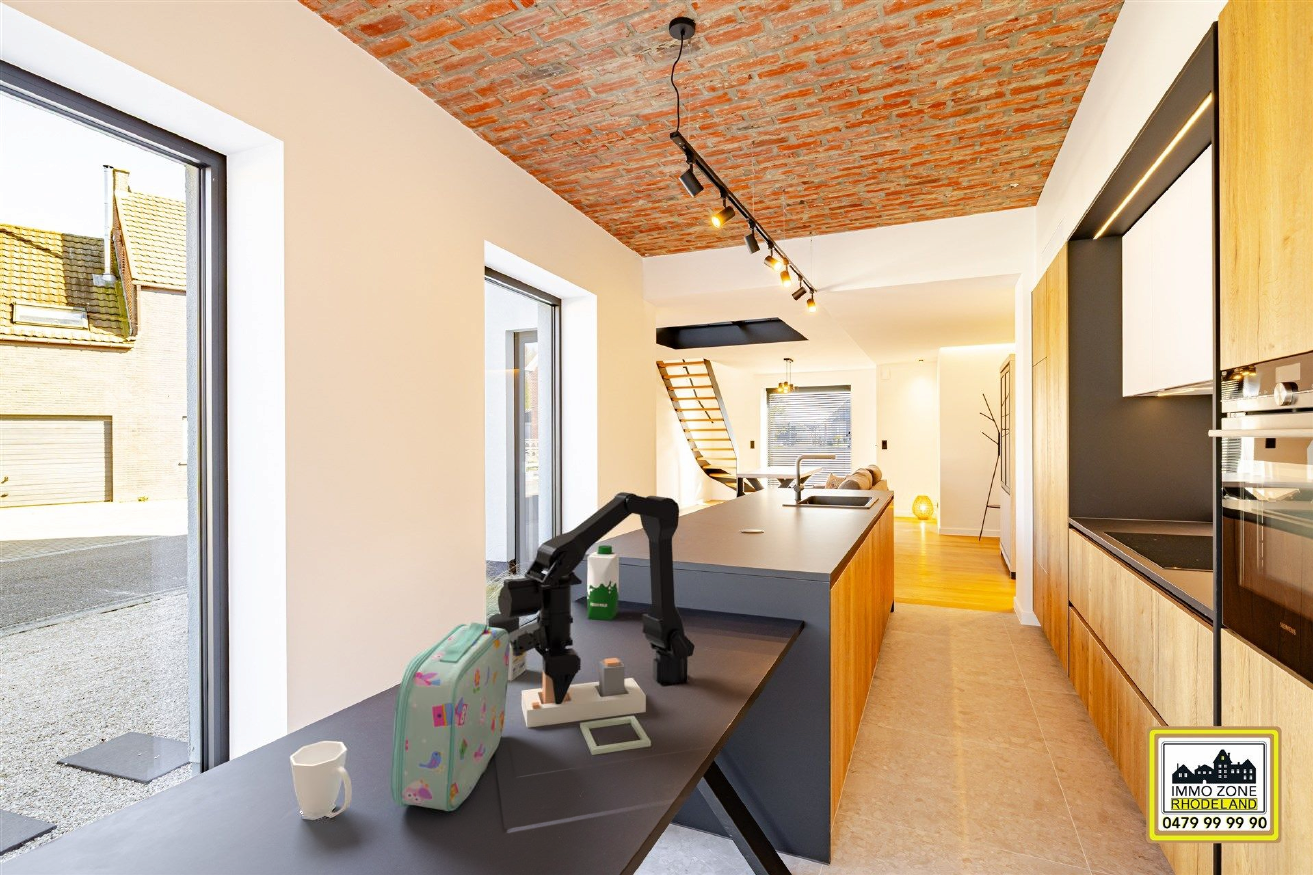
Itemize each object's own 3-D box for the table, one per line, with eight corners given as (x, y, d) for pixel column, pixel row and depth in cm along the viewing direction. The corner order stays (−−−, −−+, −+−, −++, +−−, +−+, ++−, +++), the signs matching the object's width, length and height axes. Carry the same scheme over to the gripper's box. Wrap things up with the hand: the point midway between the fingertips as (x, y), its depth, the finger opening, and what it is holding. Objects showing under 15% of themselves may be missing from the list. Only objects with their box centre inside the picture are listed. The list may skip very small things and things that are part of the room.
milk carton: (620, 612, 182) (621, 545, 182) (613, 621, 173) (614, 551, 174) (592, 611, 184) (592, 544, 184) (583, 619, 175) (584, 549, 175)
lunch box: (454, 730, 108) (455, 608, 108) (511, 731, 108) (513, 609, 108) (381, 825, 81) (383, 663, 81) (458, 827, 81) (460, 665, 81)
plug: (542, 709, 116) (542, 663, 116) (563, 706, 117) (563, 661, 117) (545, 718, 112) (545, 671, 112) (566, 715, 113) (567, 668, 113)
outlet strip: (632, 695, 124) (632, 674, 124) (645, 714, 115) (645, 692, 115) (521, 708, 117) (521, 687, 117) (526, 730, 108) (527, 706, 108)
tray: (633, 722, 112) (634, 715, 112) (650, 748, 102) (650, 741, 102) (579, 729, 109) (580, 722, 109) (592, 757, 99) (592, 750, 99)
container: (512, 682, 129) (512, 621, 129) (478, 679, 131) (479, 618, 131) (526, 669, 137) (527, 611, 137) (494, 666, 138) (495, 608, 138)
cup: (325, 791, 89) (326, 735, 89) (372, 811, 84) (372, 752, 84) (276, 817, 83) (277, 757, 83) (324, 840, 78) (325, 777, 78)
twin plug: (618, 699, 120) (619, 655, 120) (624, 708, 117) (624, 662, 117) (598, 702, 119) (599, 657, 119) (603, 710, 115) (604, 665, 115)
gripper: (507, 600, 121) (506, 679, 121) (516, 628, 103) (515, 721, 103) (563, 596, 124) (562, 673, 124) (581, 623, 106) (580, 712, 106)
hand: (554, 693), depth 114 cm, fingers open, 9 cm apart
